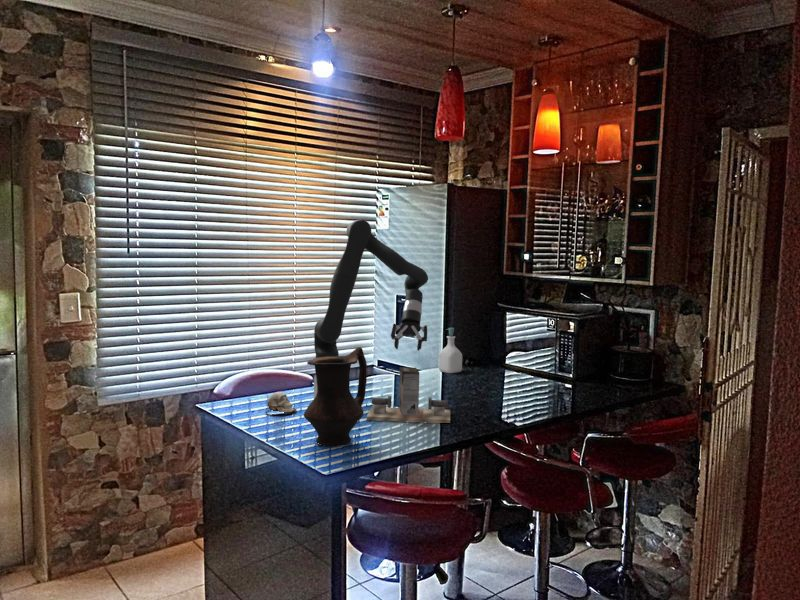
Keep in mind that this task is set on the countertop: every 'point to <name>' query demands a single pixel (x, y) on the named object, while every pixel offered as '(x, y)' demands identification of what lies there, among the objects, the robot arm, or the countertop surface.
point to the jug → (336, 398)
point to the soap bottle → (450, 356)
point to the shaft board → (424, 415)
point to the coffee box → (409, 391)
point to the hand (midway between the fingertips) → (407, 349)
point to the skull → (280, 403)
